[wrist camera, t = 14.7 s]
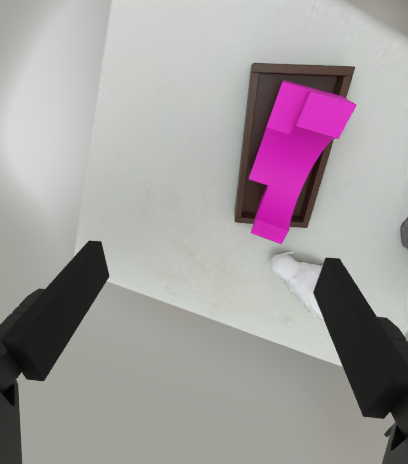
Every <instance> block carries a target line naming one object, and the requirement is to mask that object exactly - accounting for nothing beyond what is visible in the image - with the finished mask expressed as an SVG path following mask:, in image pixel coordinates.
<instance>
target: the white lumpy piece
mask: <svg viewBox="0 0 408 464" xmlns="http://www.w3.org/2000/svg"><path fill="white" fill-rule="evenodd" d="M289 253H294V252H291V251H289V252H285V253H281V254H276V255H274V256H273V257H272V258H271V260H270V269H271V271H272V273H273V274H274V275H276V276H277V277H279V278H281V279H284V281H285V283H286V285H287V288H288V290H289V292H290V293H291V294H293V295H295V296H296V297H297V298H298V299H299V300H300V301H302V303H303V305H304V307H305V308H306V309H307V311H308V312H309V313H310V314H312V315H314V316H316V317H317V318H319V319H321V320H323V321H324V319H323V316H322V314H321V311H320V309H319V306H318V304H317V301H316V299H315V297H314V294H313V291H314V288H315V286H316V283H317V280H318V277H319V275H320V272H321V269H322V266H323V264H324V263H323V264H322V265H321V266H319V265H315V264H308V263H305V262H297V261H295V260H294V259H293V258H292V257H291V256H289V255H288V254H289ZM292 255H293V254H292Z"/></svg>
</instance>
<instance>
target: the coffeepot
mask: <svg viewBox="0 0 408 464" xmlns="http://www.w3.org/2000/svg"><path fill="white" fill-rule="evenodd" d="M401 238H402V241H403V246H404V247H406V248H407V249H408V218H407V219H406V221H405V223H404V224H403V225H402V226H401Z"/></svg>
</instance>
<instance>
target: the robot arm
mask: <svg viewBox="0 0 408 464" xmlns="http://www.w3.org/2000/svg"><path fill="white" fill-rule="evenodd" d="M108 278H109V272H108V268H107V264H106V259H105V255H104V251H103V247H102V243H101V241H88V242H87V243H86V244H85V246H84V247H83V248H82V249H81V250H80V251H79V252H78V253H77V254H76V256H75V257H74V258H73V259H72V260H71V261H70V262H69V263H68V264H67V266H66V267H65V268H64V269H63V270H62V271H61V272H60V273H59V274H58V276H57V277H56V278H55V279H54V280H53V281H52V283H50V284H49V286H48V287H47V288H46V289H38V290H36V291H35V292H33V293H31V294H30V295H29V296H27V297H26V298H25V299H24V300H23V301H22V302H21V303H20V305H19V306H18V307H17V308H16V309H15V310H14V311H13V313H12V314H10V315H9V316H8V317H7V318H6V319H5V320H4V321H3V323H1V324H0V464H22V452H21V432H20V412H19V393H18V383H17V380H16V379H17V378H18V376H19V375H20V374H21V372H22V373H23V375H24V376H25V378H26V379H27V380H37V381H44V380H45V379H46V377H47V375H48V374H49V372H50V370H51V369H52V367H53V366H54V364H55V363H56V361H57V359H58V357H59V356H60V355H61V353H62V351H63V350H64V348H65V347H66V345H67V343H68V342H69V340H70V339H71V337H72V335H73V334H74V332H75V331H76V329H77V327H78V326H79V324H80V323H81V321H82V319H83V318H84V316H85V315H86V313H87V311H88V310H89V308H90V307H91V305H92V303H93V302H94V300H95V299H96V297H97V295H98V294H99V292H100V291H101V289H102V287H103V286H104V284H105V283H106V281H107V279H108ZM313 294H314V297H315V299H316V301H317V304H318V306H319V309H320V311H321V314H322V316H323V319H324V321H325V324H326V326H327V329H328V331H329V333H330V336H331V338H332V341H333V343H334V346H335V348H336V351H337V353H338V356H339V358H340V361H341V363H342V365H343V368H344V370H345V373H346V375H347V378H348V380H349V383H350V385H351V388H352V390H353V393H354V395H355V397H356V400H357V402H358V405H359V407H360V410H361V412H362V415H363V417H372V418H382V419H384V418H385V417H386V415H388V413H389V412H391V414H392V416H393V418H394V420H395V423H394V424H393V425H392V426H391V427H390V428H389V429H388V430H387V431H386V433H385V434H384V435H385V436H386V437H388V436H389V435H390V437H389V440H388V444H387V448H386V451H385V455H384V458H383V462H382V464H408V342H407V341H406V338H405V337H404V335H403V334H402V332H401V331H400V330H399V328H398V327H397V326H396V325H394V324H393V323H392V322H391V321H390V320H389V319H388V318H383V317H377V316H376V315H375V313H374V312H373V310H372V309H371V307H370V305H369V304H368V302H367V301H366V299H365V298H364V296H363V294H362V293H361V291H360V290H359V288H358V287H357V285H356V284H355V282H354V280H353V279H352V277H351V276H350V274H349V273H348V271H347V269H346V268H345V266H344V265H343V263H342V262H341V260H340V259H338V258H325V261H324V264H323V266H322V269H321V272H320V275H319V277H318V280H317V283H316V286H315V288H314V291H313Z"/></svg>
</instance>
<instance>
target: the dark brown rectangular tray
mask: <svg viewBox="0 0 408 464" xmlns="http://www.w3.org/2000/svg"><path fill="white" fill-rule="evenodd" d="M354 69H355V67H352V66H323V65H293V64H264V63H253V64H252V65H251V73H250V82H249V91H248V100H247V109H246V118H245V126H244V135H243V144H242V153H241V162H240V171H239V180H238V188H237V197H236V206H235V222H238V223H250V224H254V220H255V216H256V213H257V209H258V205H259V203H260V200H261V198H262V195H263V193H264V191H265V188H266V186H267V185H265V184H262V183H259V182H256V181H253V180H250V179H249V176H250V174H251V171H252V168H253V165H254V162H255V160H256V157H257V154H258V151H259V148H260V145H261V142H262V139H263V136H264V133H265V130H266V127H267V124H268V121H269V119H270V116H271V113H272V110H273V107H274V104H275V102H276V99H277V96H278V93H279V90H280V87H281V84H282V82H283V81H284V80H285V81H289V82H293V83H296V84H300V85H304V86H307V87H311V88H314V89H318V90H322V91H325V92H329V93H333V94H336V95H340V96H343V97H345V98H346V96H347V93H348V90H349V86H350V83H351V80H352V76H353V73H354ZM333 140H334V139H333ZM333 140H332V141H331V142H330V143H329V144H328V145H327V146H326V147H325V148H324V150H323V151H322V152H321V154H320V155H319V157H318V158H317V160H316V162H315V163H314V165H313V167H312V169H311V171H310V172H309V174H308V176H307V178H306V180H305V183H304V185H303V187H302V189H301V192H300V194H299V196H298V199H297V202H296V204H295V207H294V210H293V214H292V217H291V221H290V226H289V227H301V228H307V227H308V224H309V220H310V217H311V214H312V210H313V207H314V204H315V200H316V197H317V194H318V190H319V187H320V184H321V180H322V177H323V174H324V170H325V167H326V164H327V160H328V157H329V153H330V150H331V147H332V143H333Z"/></svg>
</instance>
